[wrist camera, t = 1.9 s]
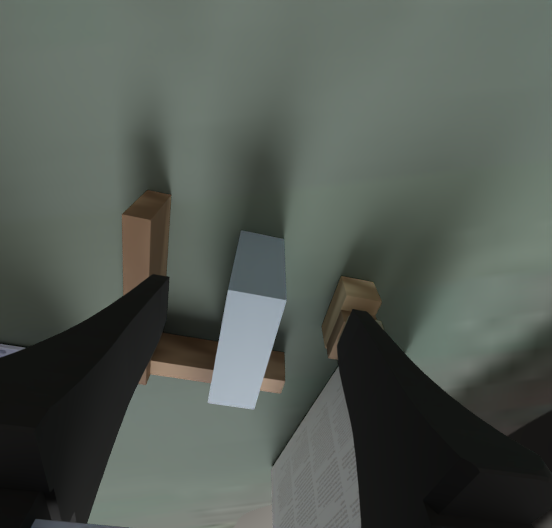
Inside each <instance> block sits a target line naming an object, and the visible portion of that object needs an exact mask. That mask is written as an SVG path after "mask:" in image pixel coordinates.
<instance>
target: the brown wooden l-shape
mask: <svg viewBox="0 0 552 528" xmlns="http://www.w3.org/2000/svg"><path fill="white" fill-rule="evenodd" d="M170 207H171V195H169V194H164V193H160V192H155V191H150V190H147V191H146V192H145V193H144V194H143V195H142V196H141V197H139V198H138V199H137V200H136V201H135V202H134V203H133V204H132V205H131V206H130V207H129V208H128V209H127V210H126V211H125V212H124V213H123V214H122V243H123V296H124V295H125V294H127V293H128V292H129V291H131V290H132V289H133V288H135V287H136V286H137V285H139V284H140V283H141V282H142V281H144V280H145V279H146V278H148V277H149V276H151V275H152V274H156V275H162V276H166V272H167V256H168V240H169V224H170ZM217 348H218V342H217V341H211V340H205V339H198V338H192V337H186V336H180V335H174V334H168V333H163V331H162V334H161V337H160V340H159V342H158V344H157V347H156V349H155V351H154V353H153V355H152V357H151V359H150V361H149V363H148V365H147V367H146V369H145V371H144V373H143V375H142V377H141V379H140V381H139V383H138V384H143V385H146V383H147V381H148V378H149V376H150V374H152V375H159V376H166V377H173V378H179V379H186V380H193V381H199V382H206V383H211V381H212V376H213V370H214V365H215V359H216V354H217ZM284 383H285V355H284V352H278V351H271V354H270V358H269V361H268V364H267V368H266V371H265V374H264V378H263V381H262V385H261V388H260V391H267V392H273V393H280V394H281V392H282V389H283V386H284Z"/></svg>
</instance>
